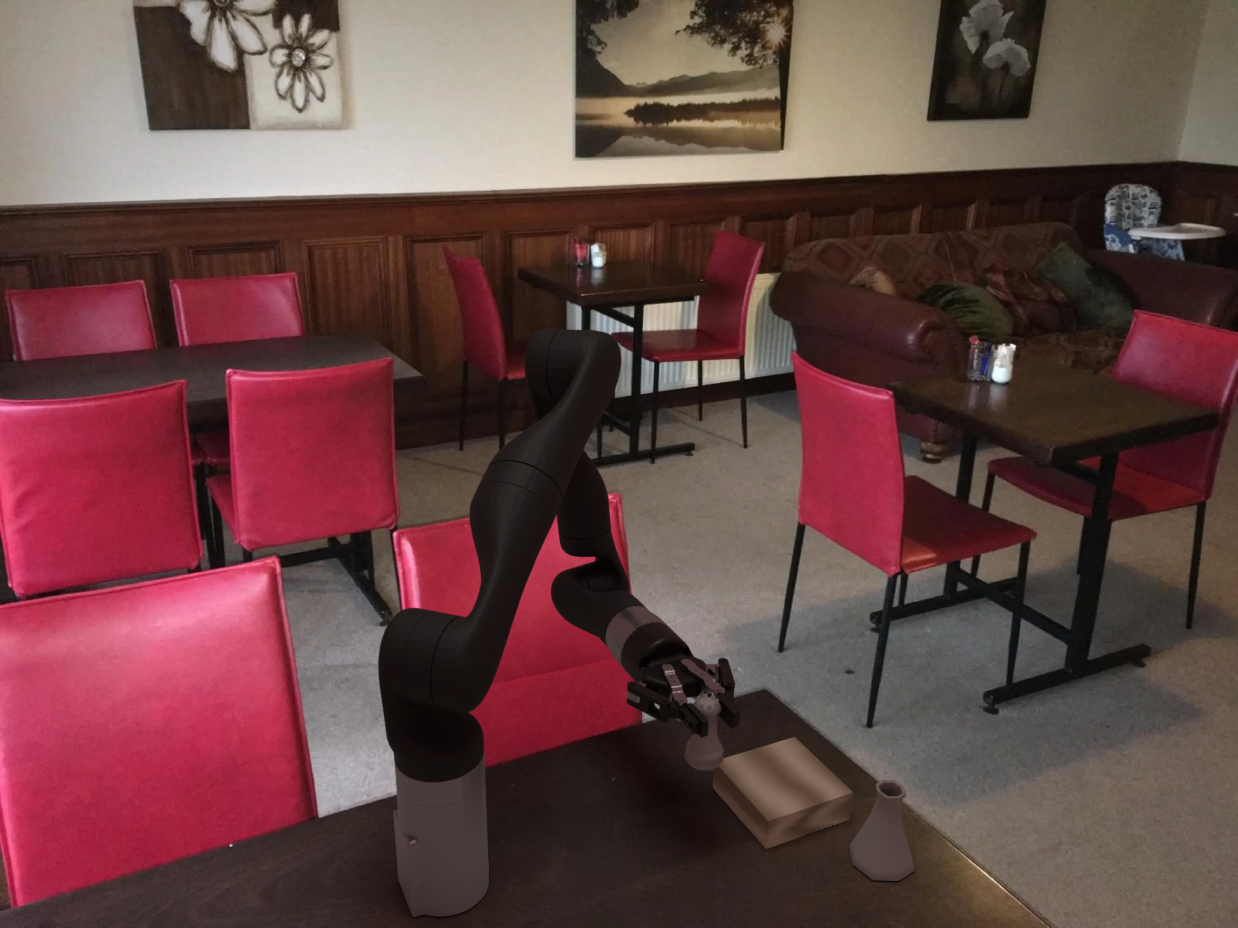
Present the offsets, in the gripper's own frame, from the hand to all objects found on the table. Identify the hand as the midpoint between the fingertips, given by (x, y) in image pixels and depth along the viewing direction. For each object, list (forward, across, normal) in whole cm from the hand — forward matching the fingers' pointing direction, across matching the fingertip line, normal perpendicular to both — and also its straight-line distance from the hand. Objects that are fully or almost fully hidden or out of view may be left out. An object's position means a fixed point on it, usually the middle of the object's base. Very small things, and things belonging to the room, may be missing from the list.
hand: (720, 724), depth 112 cm
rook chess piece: (-3, 0, +7) cm, 7 cm away
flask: (+9, +17, +18) cm, 26 cm away
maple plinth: (-4, +12, +18) cm, 22 cm away
